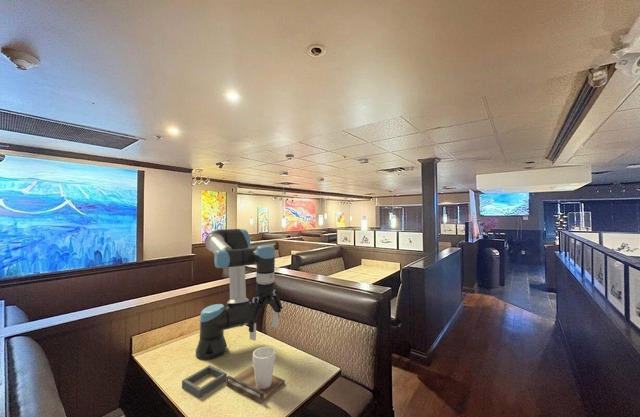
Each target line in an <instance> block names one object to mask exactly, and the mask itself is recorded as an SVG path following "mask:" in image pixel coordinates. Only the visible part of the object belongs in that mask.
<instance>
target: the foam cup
mask: <svg viewBox="0 0 640 417" xmlns="http://www.w3.org/2000/svg"><path fill="white" fill-rule="evenodd" d="M275 360H276V350H275V348H274V347H271V346H261V347H258V348H255V350H253V352H252V362H253V363H252V364H253V367H254V372H255V381H256V386H257V387H258V388H260V389H265V388H268V387H269V386H270V385H271V382H272V375H274V374H273V373H274V366H275Z"/></svg>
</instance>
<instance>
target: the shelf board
mask: <svg viewBox="0 0 640 417" xmlns="http://www.w3.org/2000/svg"><path fill="white" fill-rule="evenodd" d="M285 383H286V381H285V379H282V378H280V377H279V376H276V375H274V374H273V375H272V382H271V385H270V386H269V387H268V388H265V389H260V388H258V387H257V386H256V381H255V372H254V366H252V365H250V366H249V367H248V368H246V369H245V370H243V371H241V372H240V373H238V374H237V375H235V376H234V377H233V376H231V375H227V380H226V386H227V387H228V388H230V389H232V390H233V391H236V392H238V393H239V394H242V395H243V396H245V397H247V398H249V399H251V400H253V401H255V402H256V403H259V404H261V405H262V404H264V403H265V402H266V401H267V400H268V399H269V398H271V397H272V396H273V395H274V394H275V393H276V392H277V391H279V390H280V389H281V388H282V387H283V386H285V385H286V384H285Z"/></svg>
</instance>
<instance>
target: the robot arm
mask: <svg viewBox="0 0 640 417" xmlns="http://www.w3.org/2000/svg"><path fill="white" fill-rule="evenodd" d="M250 238H251V237H250V234H249V232H248V231H247V229H245V228H243V229H242V228H231V229H230V228H229V229H223V228H221V229H217V230H216V229H215V230H213V231H211V232H209V233H208V235H207V236H206V237H205V238H204V246H205V247H206V249H207V250H208V251H210V252H212V253H213V255H214V256H213V257H214V258H213V260H214V267H215V268H216V269H226V268H228V269H229V272H228V273H229V274H228V275H229V276H228V277H229V300H228V301H227V303H226V306H224V304H223V303H216V304H211V305H209V306H206V307H205V308H203V309H202V310H201V311H200V316H199V317H200V318H199V340H198V344H197V346H196V349H195V357H196V358H197V359H199V360H205V361H207V360H213V359H217V358H220V357H221V356H223V355H224V354H225V353H227V351H228V345H227V341H226V339H225V336H224V335H225V334H224V332H225V330H230V329H234V328H239V327H243V326H246V325H248V332H249V340H252V341H256V340H257V323H256V321H257V319H258V316H259V315H260V313H261V310H262V309H263V308H264V306H266V305H269V306H270V307H271V308H272V310H273V311H272V320H271V322H272V324H271V326H272V328H275V329H278V328H279V317H280V315H279V314H280V313H281V312H282V309H283V305H282V302H281V299H280V296H279V291H278V290H276V289H275V266H276V265H275V264H276V263H275V262H276V258H275V257H276V253H275V252H276V250H275V247H274V245H271V244H270V245H268V244H266V245H265V244H262V245H258V246H253V247H251V239H250ZM246 266H256V272H255V273H256V274H255V276H256V279H255V280H256V284H255V287H256V288H255V291H256V293H257V295H256V296H255V297H254V296H253V297H252V296H251V299H250V300H249V298H248V297H247V294H246V293H247V292H246V290H247V287H246V286H247V285H246Z"/></svg>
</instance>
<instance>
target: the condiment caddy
mask: <svg viewBox="0 0 640 417" xmlns="http://www.w3.org/2000/svg"><path fill="white" fill-rule="evenodd" d="M207 375H210V376H212V377H214V379H212V380H210V381H209V382H207V383H205V384H204V385H202V386H201V387H200V386H198V385H197V384H195V383H196V382H197V381H199V380H201V379H203V378H204V377H206V376H207ZM227 376H228V373H227V372H225V371H223V370H220V369H219V368H216V367H215V366H212V365H207V366H205V367H204V368H201V369H200V370H198V371H196V372H195V373H192V374H191V375H189V376H187V377H186V378H184V379H182V380H181V388H182V389H183V390H184V391H186V392H188V393H190V394H192V395H193V396H195V397H197V398H198V399H201V398H202V397H203V396H205V395H207V394H208V393H210V392H211V391H213V390H214V389H216V388H218V386H220V385H222V384H223V383H225V382H227Z"/></svg>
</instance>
